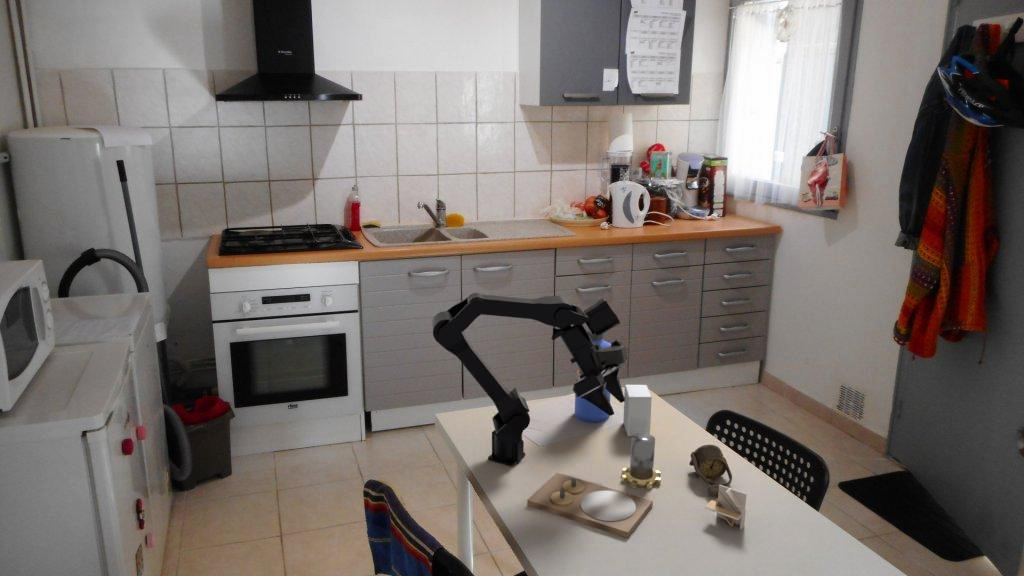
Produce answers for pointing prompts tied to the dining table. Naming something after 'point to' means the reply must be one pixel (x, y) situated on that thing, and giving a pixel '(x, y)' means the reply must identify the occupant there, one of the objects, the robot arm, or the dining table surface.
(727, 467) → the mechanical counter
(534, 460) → the dining table surface
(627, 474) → the loose gear
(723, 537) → the dining table surface
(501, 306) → the robot arm
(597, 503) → the gear board
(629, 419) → the small box
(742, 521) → the architectural model
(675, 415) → the dining table surface
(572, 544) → the dining table surface
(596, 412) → the water bottle
